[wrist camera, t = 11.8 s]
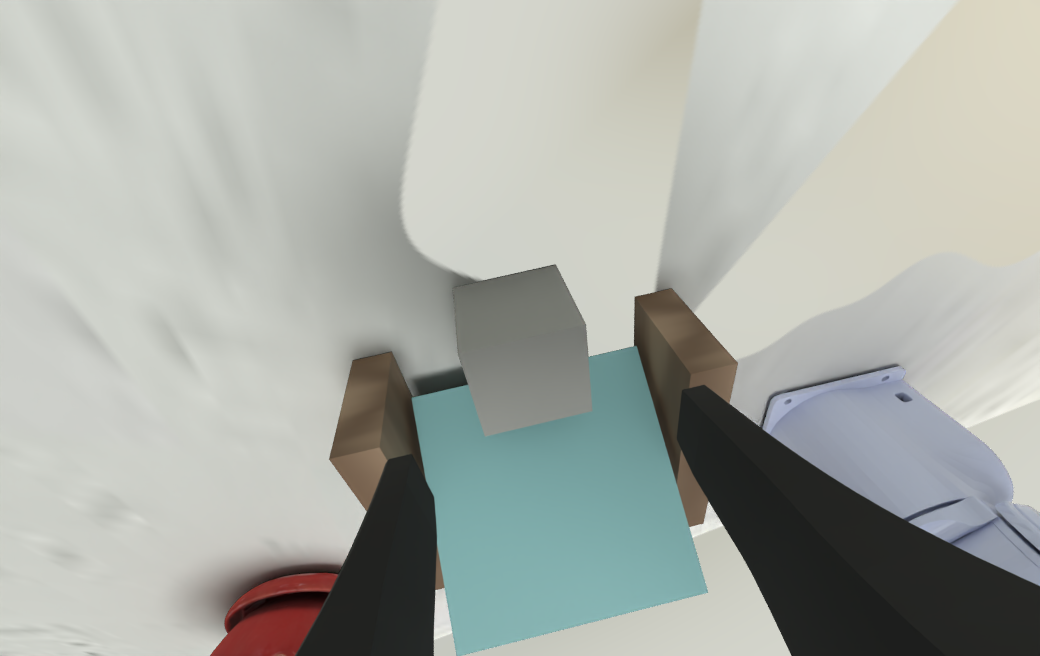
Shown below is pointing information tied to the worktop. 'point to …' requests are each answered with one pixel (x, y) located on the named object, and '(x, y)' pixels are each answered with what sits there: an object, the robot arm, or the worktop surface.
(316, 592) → the plant pot
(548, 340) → the granite block
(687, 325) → the hatch stand
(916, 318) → the worktop surface
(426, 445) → the hatch flap
